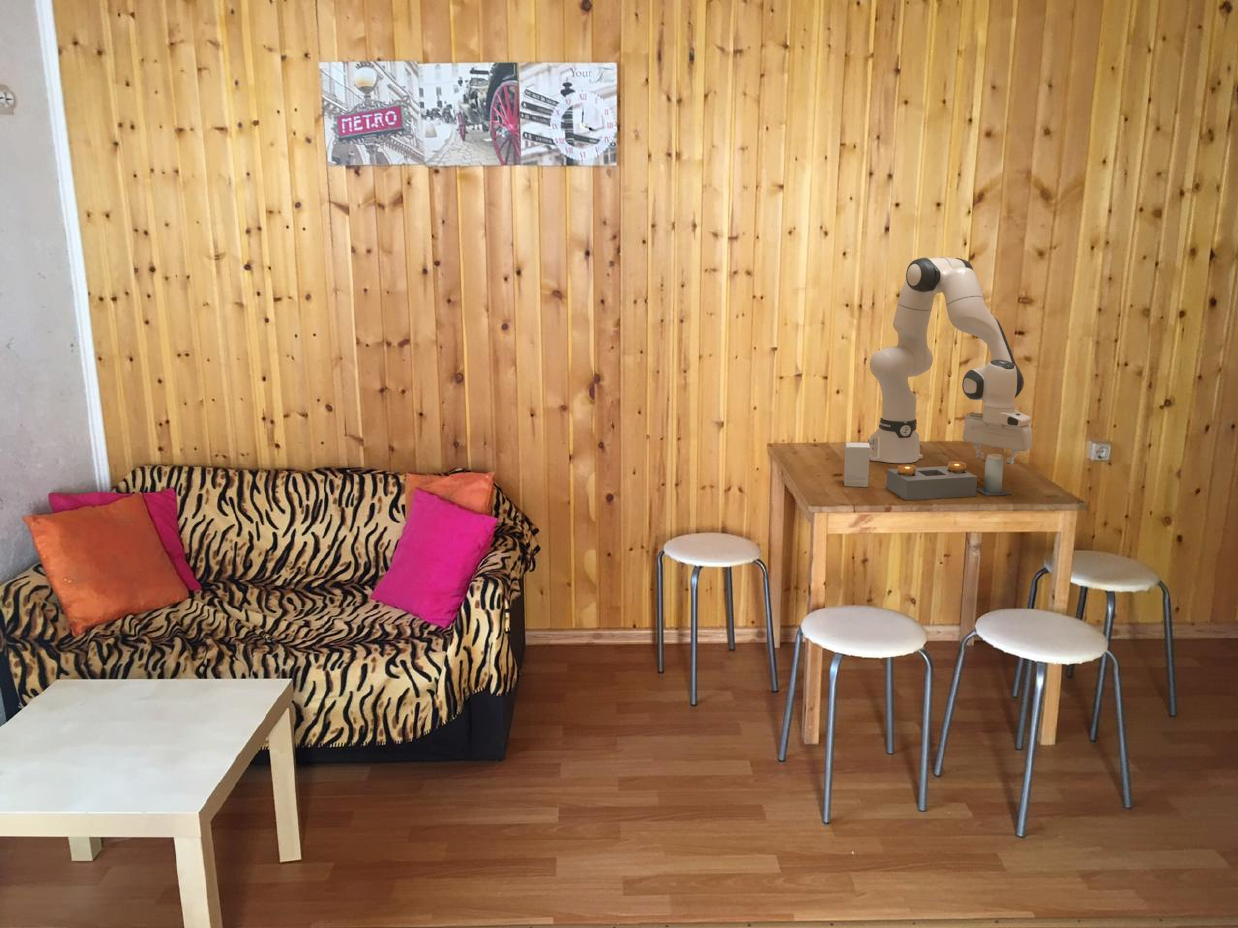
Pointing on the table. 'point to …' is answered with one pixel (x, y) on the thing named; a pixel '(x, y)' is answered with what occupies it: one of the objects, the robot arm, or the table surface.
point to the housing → (932, 483)
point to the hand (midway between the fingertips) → (994, 461)
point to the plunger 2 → (956, 467)
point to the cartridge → (993, 473)
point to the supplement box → (856, 464)
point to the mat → (1003, 492)
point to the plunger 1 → (906, 469)
